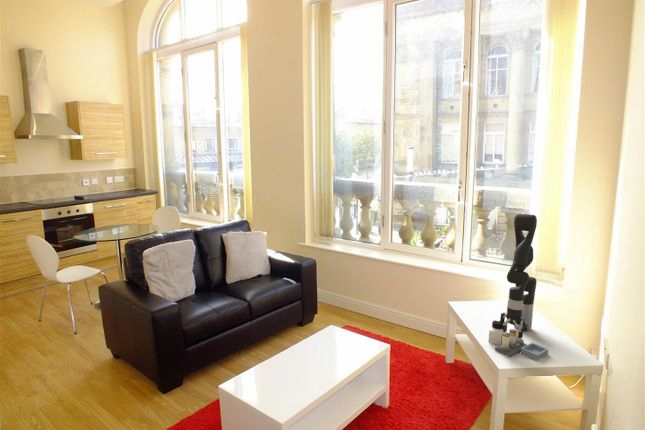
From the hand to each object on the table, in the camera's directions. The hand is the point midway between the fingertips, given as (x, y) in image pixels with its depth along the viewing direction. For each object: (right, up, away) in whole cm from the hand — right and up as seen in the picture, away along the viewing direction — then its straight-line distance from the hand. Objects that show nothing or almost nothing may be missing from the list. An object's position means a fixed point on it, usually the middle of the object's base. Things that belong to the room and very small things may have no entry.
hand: (512, 334), depth 224 cm
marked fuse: (0, -7, +1) cm, 7 cm away
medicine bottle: (-4, -7, +11) cm, 13 cm away
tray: (+10, -9, -3) cm, 14 cm away
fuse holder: (0, -8, +2) cm, 9 cm away
